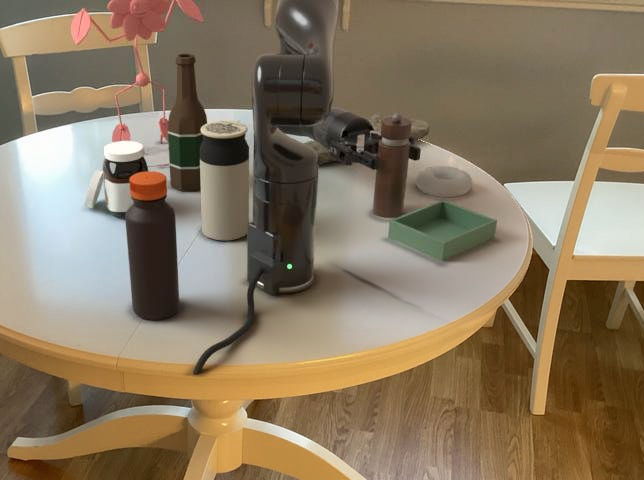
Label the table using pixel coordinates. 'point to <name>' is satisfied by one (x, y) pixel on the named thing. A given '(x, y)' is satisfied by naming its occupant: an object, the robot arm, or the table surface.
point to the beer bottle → (185, 129)
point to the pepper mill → (392, 167)
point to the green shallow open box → (442, 229)
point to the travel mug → (224, 180)
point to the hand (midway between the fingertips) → (398, 159)
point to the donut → (444, 181)
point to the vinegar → (152, 247)
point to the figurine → (136, 18)
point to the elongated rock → (417, 130)
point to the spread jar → (117, 176)
